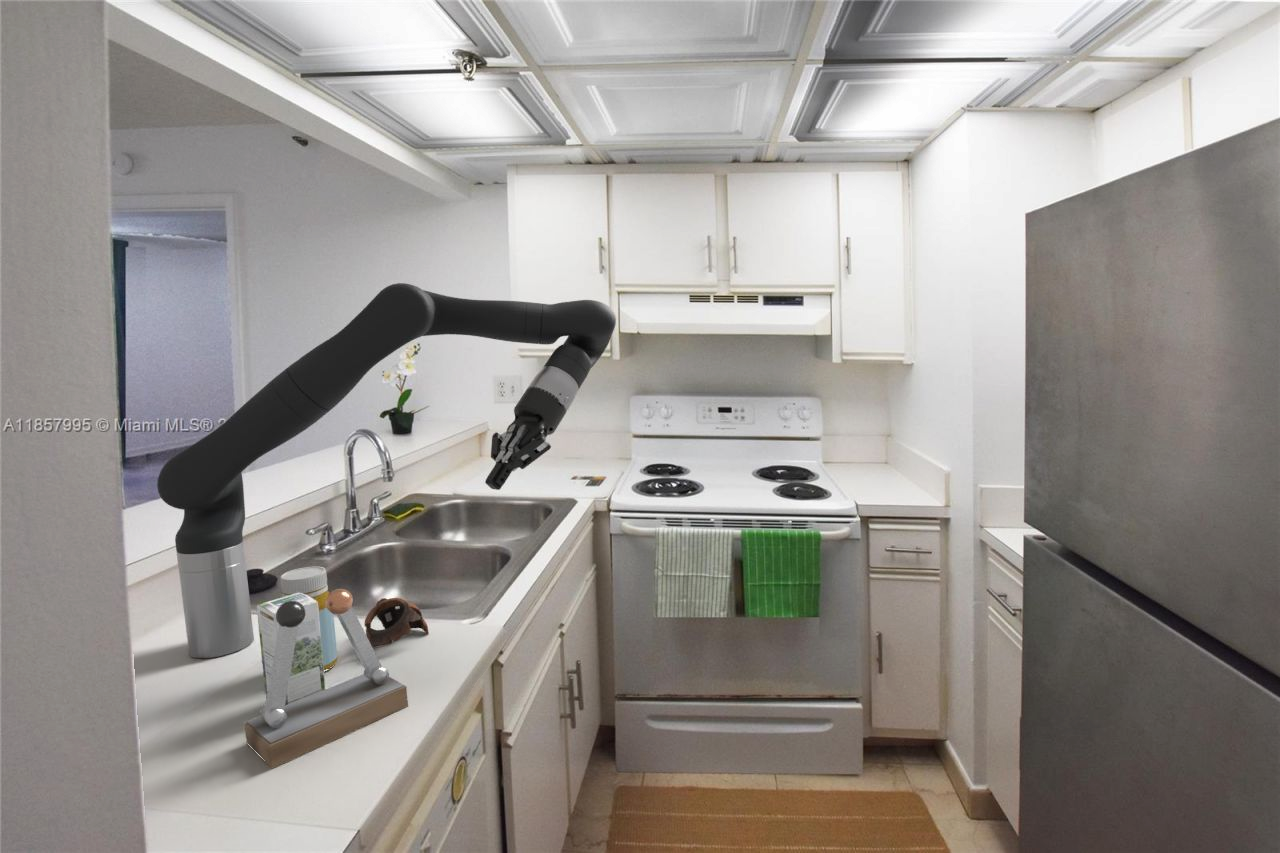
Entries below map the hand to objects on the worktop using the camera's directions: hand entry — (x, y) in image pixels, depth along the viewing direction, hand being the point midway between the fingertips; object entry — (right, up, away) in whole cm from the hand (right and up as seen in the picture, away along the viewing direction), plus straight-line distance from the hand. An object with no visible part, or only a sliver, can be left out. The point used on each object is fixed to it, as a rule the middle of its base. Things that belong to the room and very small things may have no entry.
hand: (491, 486), depth 103 cm
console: (-17, -29, -17) cm, 38 cm away
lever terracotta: (-13, -24, -13) cm, 30 cm away
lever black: (-21, -26, -22) cm, 40 cm away
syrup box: (-24, -29, -11) cm, 39 cm away
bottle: (-27, -28, -1) cm, 39 cm away
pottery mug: (-18, -27, +8) cm, 33 cm away
